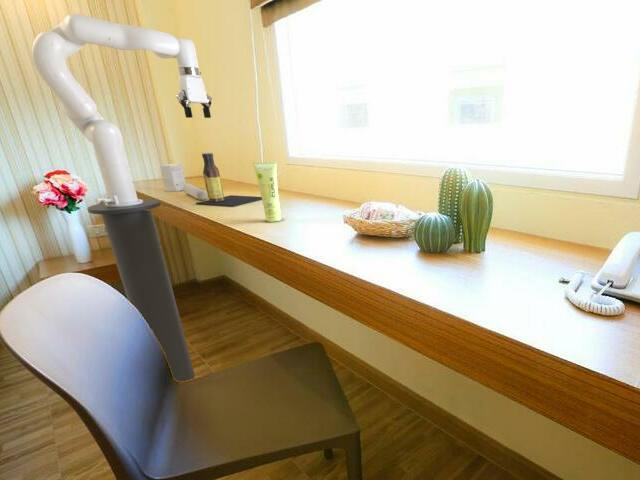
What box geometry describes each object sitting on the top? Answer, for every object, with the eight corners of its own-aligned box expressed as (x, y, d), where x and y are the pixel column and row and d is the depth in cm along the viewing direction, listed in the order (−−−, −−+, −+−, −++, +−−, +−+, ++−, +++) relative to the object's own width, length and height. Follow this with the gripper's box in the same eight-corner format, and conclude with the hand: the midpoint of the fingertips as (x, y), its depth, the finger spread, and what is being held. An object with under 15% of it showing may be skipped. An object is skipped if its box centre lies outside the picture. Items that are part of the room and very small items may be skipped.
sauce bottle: (212, 200, 172) (203, 152, 165) (227, 199, 172) (218, 152, 165) (206, 202, 166) (196, 153, 158) (221, 202, 166) (212, 153, 159)
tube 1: (209, 190, 175) (195, 184, 193) (196, 188, 171) (183, 182, 189) (207, 202, 176) (194, 195, 194) (194, 200, 172) (182, 193, 190)
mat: (232, 206, 160) (232, 205, 159) (195, 204, 166) (195, 202, 166) (265, 198, 177) (265, 197, 177) (231, 196, 184) (230, 195, 183)
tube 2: (268, 223, 131) (259, 162, 124) (261, 221, 134) (252, 161, 127) (284, 220, 135) (276, 161, 127) (277, 218, 138) (269, 160, 131)
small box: (177, 189, 210) (171, 163, 205) (187, 189, 208) (181, 163, 204) (165, 191, 202) (159, 165, 197) (176, 191, 201) (170, 165, 196)
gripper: (200, 75, 172) (208, 118, 178) (164, 71, 157) (174, 117, 163) (213, 74, 169) (220, 117, 176) (178, 70, 154) (188, 117, 161)
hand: (198, 117), depth 170 cm, fingers open, 9 cm apart
